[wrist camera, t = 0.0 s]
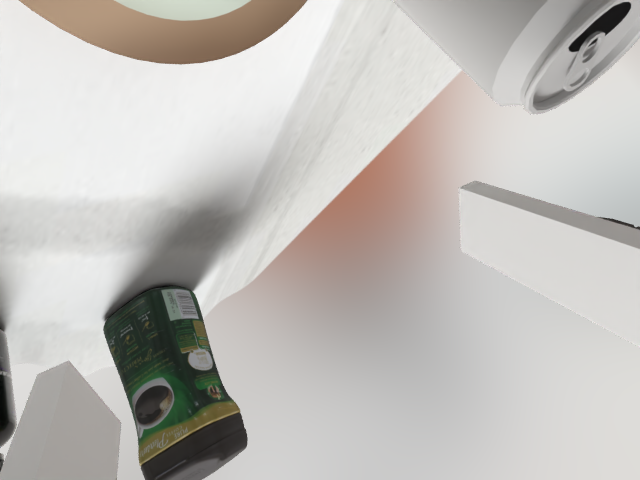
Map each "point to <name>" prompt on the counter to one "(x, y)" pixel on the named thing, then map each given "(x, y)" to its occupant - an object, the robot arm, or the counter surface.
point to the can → (530, 43)
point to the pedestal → (169, 25)
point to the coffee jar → (173, 386)
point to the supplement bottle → (6, 397)
